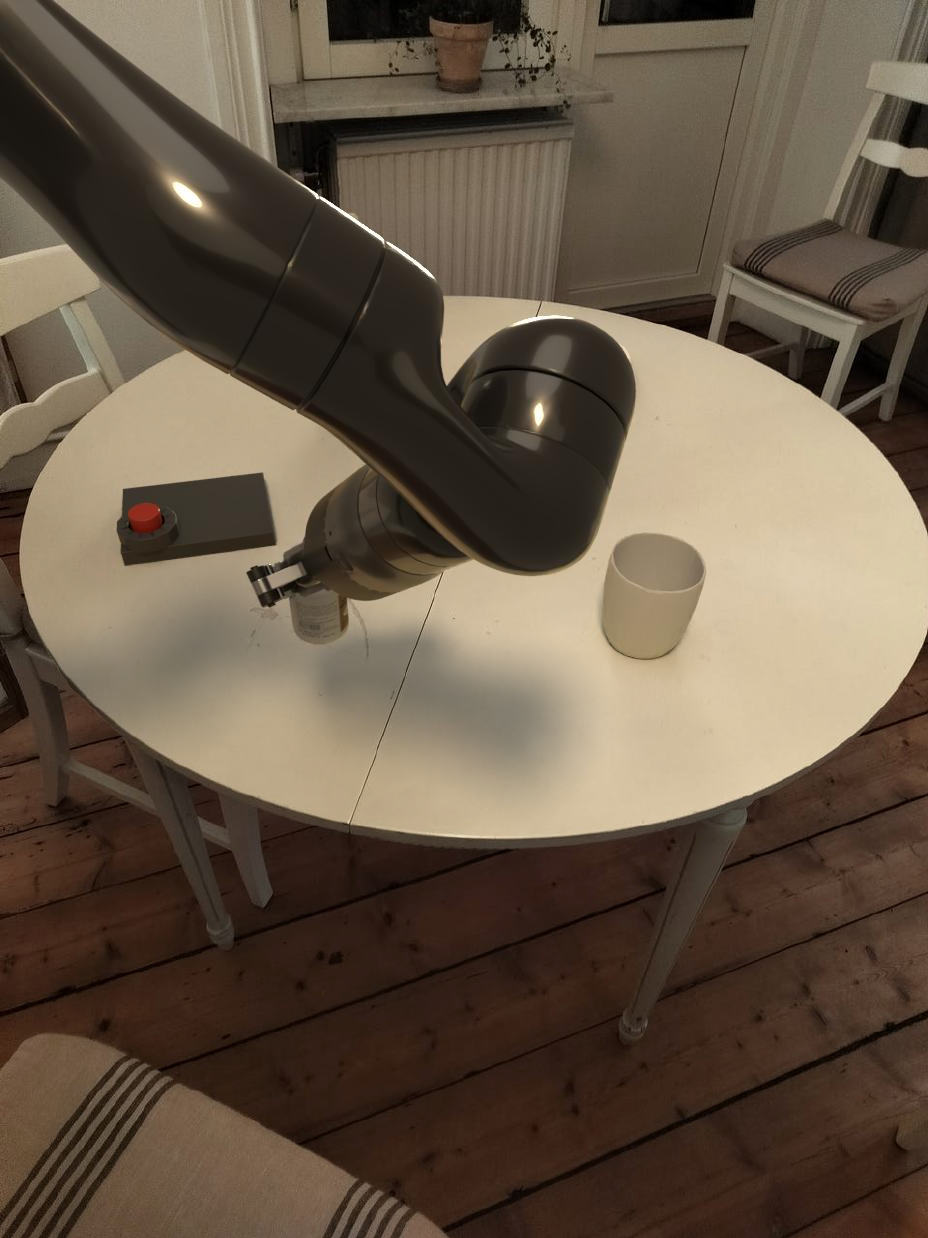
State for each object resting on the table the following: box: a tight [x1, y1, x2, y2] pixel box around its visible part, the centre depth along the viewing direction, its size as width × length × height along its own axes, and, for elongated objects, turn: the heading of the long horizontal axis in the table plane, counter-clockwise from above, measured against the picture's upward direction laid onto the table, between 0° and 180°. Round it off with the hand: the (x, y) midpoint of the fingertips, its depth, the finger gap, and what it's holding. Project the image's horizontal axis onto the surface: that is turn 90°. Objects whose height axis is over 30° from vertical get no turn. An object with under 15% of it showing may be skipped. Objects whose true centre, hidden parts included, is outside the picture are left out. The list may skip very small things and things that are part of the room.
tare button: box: [128, 503, 163, 533], centre depth 89 cm, size 3×3×2 cm
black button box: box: [116, 472, 277, 567], centre depth 93 cm, size 16×12×4 cm
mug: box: [602, 531, 707, 660], centre depth 82 cm, size 13×9×10 cm
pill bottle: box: [288, 538, 350, 645], centre depth 63 cm, size 4×4×8 cm
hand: (304, 574), depth 64 cm, fingers closed on pill bottle, 4 cm apart
